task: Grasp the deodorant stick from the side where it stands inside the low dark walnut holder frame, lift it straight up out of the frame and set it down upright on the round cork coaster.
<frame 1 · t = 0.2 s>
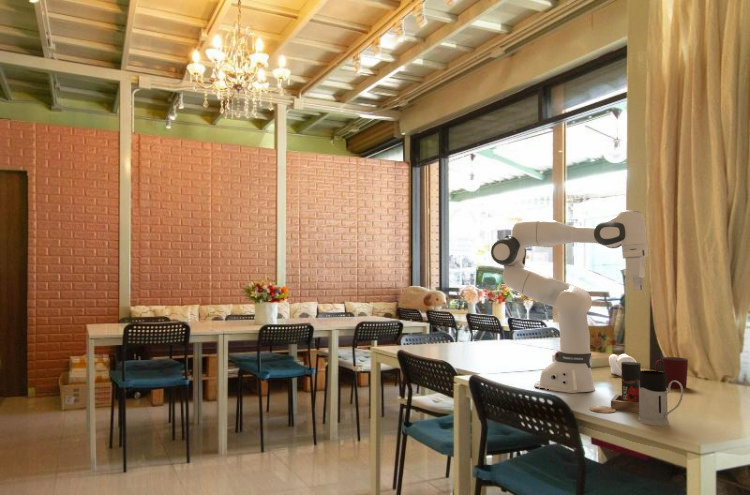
hand: (638, 290, 220), 39 cm above the table, tool pointing down, fingers open, 8 cm apart
white lumpy blob: (621, 375, 260), on the table
mug: (671, 387, 234), on the table
deodorant: (631, 408, 199), resting in holder frame
cork coaster: (602, 410, 196), on the table
holder frame: (631, 408, 199), on the table
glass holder: (661, 424, 179), on the table
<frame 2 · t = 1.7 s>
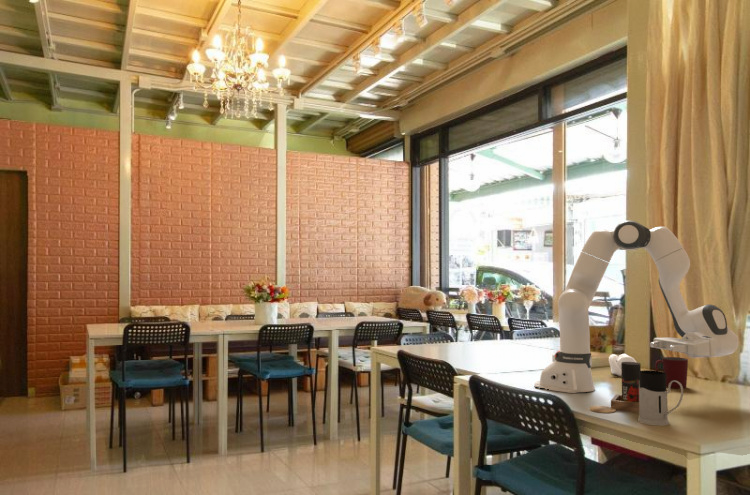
hand: (661, 346, 203), 20 cm above the table, tool horizontal, fingers open, 8 cm apart
nothing on the table moved.
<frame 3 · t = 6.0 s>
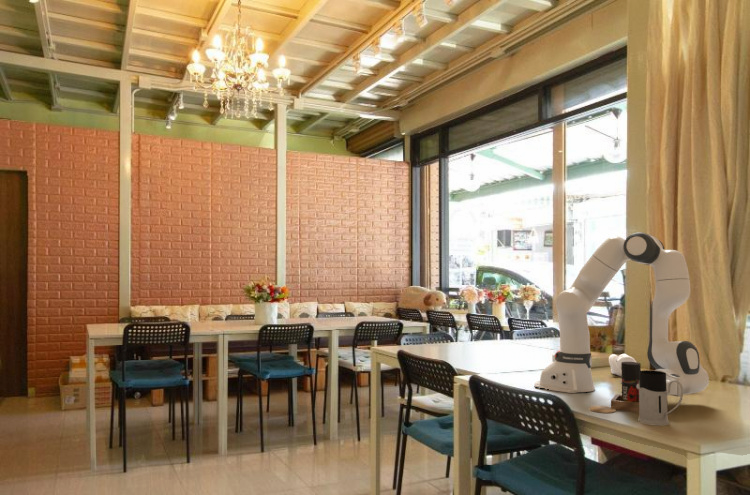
hand: (629, 384, 199), 8 cm above the table, tool horizontal, fingers closed on deodorant, 6 cm apart
deodorant: (631, 408, 199), resting in holder frame, touching gripper
everything else where it was.
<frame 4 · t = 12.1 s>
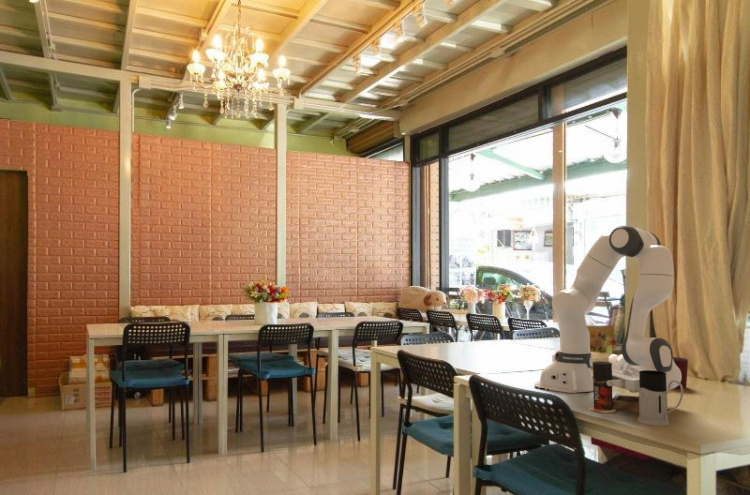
hand: (600, 381, 196), 10 cm above the table, tool horizontal, fingers closed on deodorant, 6 cm apart
deodorant: (603, 409, 196), resting on cork coaster, touching gripper
everything else where it was.
when the fingers open (10 cm above the table, at t = 12.4 s): deodorant stays where it is, resting on cork coaster.
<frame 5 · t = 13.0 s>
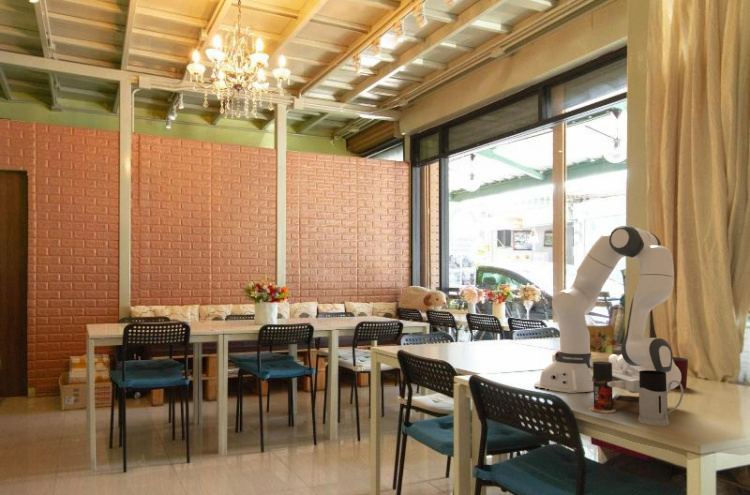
hand: (599, 381, 196), 10 cm above the table, tool horizontal, fingers open, 8 cm apart
deodorant: (603, 409, 196), resting on cork coaster
everything else where it was.
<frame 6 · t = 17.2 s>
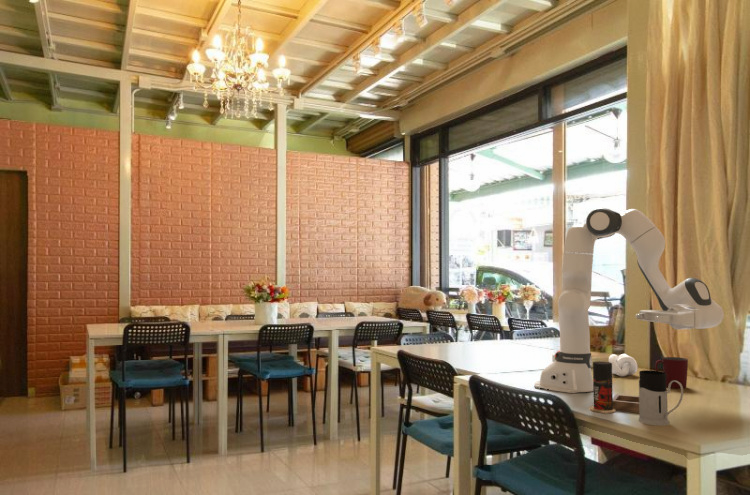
hand: (646, 317, 203), 30 cm above the table, tool horizontal, fingers open, 8 cm apart
nothing on the table moved.
at the end: deodorant inside the target area on the cork coaster (0.3 cm from its centre), point 0.4 cm above the cork coaster's base; deodorant tilted 0°; the gripper is holding nothing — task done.
